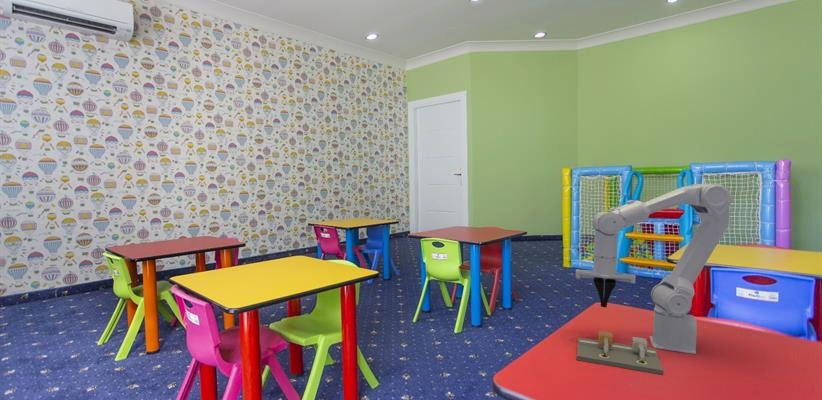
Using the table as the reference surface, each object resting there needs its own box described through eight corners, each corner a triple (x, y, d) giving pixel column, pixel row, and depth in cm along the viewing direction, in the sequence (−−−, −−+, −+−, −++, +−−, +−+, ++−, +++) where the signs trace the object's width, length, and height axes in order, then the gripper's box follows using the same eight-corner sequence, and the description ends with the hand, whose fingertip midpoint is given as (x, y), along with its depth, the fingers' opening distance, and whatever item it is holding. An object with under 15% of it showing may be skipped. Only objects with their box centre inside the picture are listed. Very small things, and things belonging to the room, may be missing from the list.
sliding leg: (611, 344, 105) (611, 332, 105) (612, 356, 98) (613, 343, 98) (598, 342, 107) (598, 330, 106) (599, 354, 99) (599, 341, 99)
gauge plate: (655, 352, 104) (655, 345, 104) (663, 374, 92) (663, 366, 92) (578, 341, 111) (578, 334, 111) (576, 359, 99) (576, 352, 99)
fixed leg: (645, 350, 102) (645, 338, 102) (649, 363, 95) (650, 350, 95) (631, 348, 104) (632, 336, 103) (634, 360, 96) (635, 348, 96)
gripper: (575, 256, 110) (574, 306, 111) (637, 261, 105) (635, 314, 105) (576, 252, 117) (575, 299, 117) (634, 256, 111) (632, 306, 112)
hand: (603, 306), depth 112 cm, fingers closed
